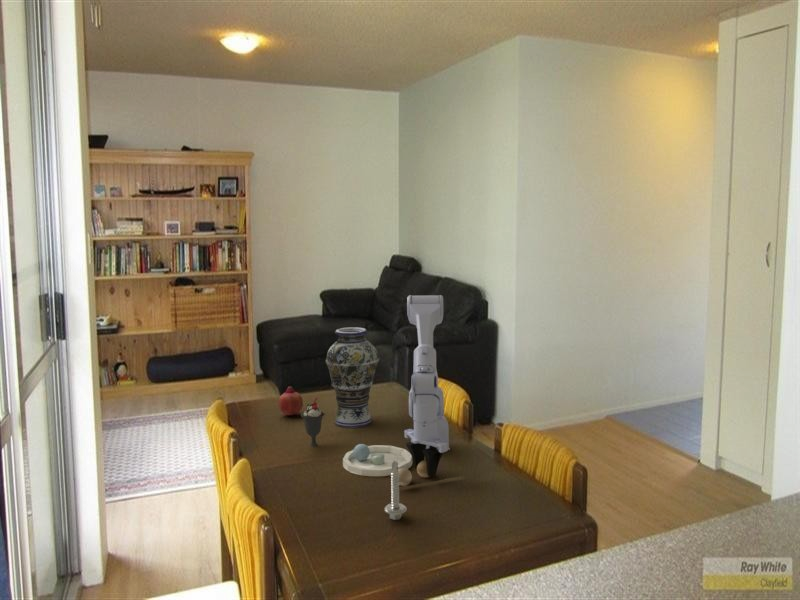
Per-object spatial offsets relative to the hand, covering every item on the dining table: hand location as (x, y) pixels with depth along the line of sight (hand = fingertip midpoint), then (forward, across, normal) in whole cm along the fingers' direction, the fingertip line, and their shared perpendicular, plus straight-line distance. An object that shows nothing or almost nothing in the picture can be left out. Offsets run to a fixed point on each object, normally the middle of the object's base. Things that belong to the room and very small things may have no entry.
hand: (425, 472), depth 167 cm
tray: (+2, -15, -4) cm, 15 cm away
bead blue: (+1, -19, -7) cm, 20 cm away
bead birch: (+2, 0, -7) cm, 7 cm away
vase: (+2, -50, +11) cm, 51 cm away
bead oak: (+1, 0, 0) cm, 1 cm away
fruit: (+2, -69, -1) cm, 69 cm away
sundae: (+2, -37, -11) cm, 39 cm away
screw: (+2, +13, -19) cm, 23 cm away
